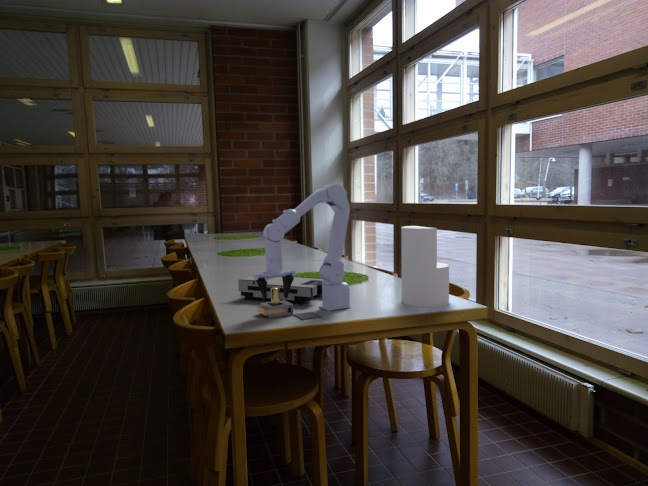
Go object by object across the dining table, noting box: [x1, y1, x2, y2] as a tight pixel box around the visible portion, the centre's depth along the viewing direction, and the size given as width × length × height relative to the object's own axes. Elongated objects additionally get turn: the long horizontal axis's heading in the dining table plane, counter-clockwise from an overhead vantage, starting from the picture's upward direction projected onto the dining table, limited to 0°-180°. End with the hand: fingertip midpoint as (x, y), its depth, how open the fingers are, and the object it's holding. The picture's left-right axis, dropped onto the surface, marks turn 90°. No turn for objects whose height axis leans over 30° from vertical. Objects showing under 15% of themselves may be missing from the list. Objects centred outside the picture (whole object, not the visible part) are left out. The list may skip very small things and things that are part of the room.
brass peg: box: [271, 287, 280, 306], centre depth 157 cm, size 3×3×9 cm
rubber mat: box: [293, 311, 322, 321], centre depth 154 cm, size 7×7×1 cm
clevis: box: [256, 300, 294, 319], centre depth 157 cm, size 10×8×4 cm
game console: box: [237, 275, 323, 306], centre depth 184 cm, size 21×32×8 cm, turn 65°
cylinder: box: [400, 225, 450, 308], centre depth 171 cm, size 17×17×28 cm
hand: (275, 298), depth 157 cm, fingers open, 7 cm apart
